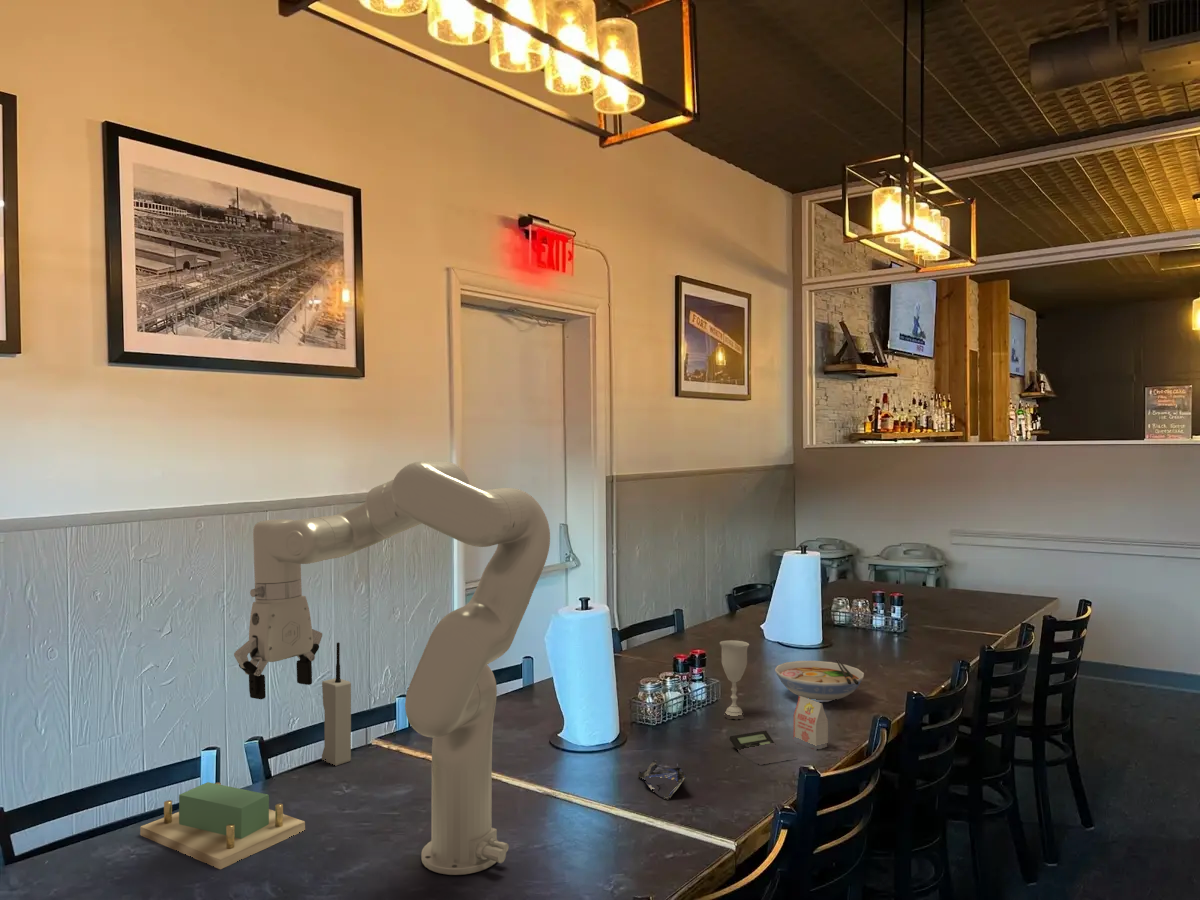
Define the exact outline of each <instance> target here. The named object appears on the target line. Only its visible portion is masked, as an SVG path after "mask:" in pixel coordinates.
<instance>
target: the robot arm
mask: <svg viewBox="0 0 1200 900" xmlns="http://www.w3.org/2000/svg"><path fill="white" fill-rule="evenodd" d="M546 515H547V514H545V511H544V509H543V508H542V506H541V504H539V502H538V501H537V500H536V499H535V498H534V497H533V496H532V495H530V494H529V493H528V492H526V491H524V490H522V489H517V488H514V487H501V488H500V487H499V488H494V489H493V488H492V489H491V488H490V489H480V488H478V487H475V486H473V485H471V484H470V481H469V477H468V475H467V473H466V472H465V471H464V470H463V468H461V467H460V466H459V465H457V464H456V463H453V462H451V461H445V460H431V461H429V460H427V461H415V462H413V463H409V464H407V465H405V466H404V467H402V469H400V470H399V471H398V472H397V473H396V475H395V477H394V478H393V479H391V480H389V481H387V482H384V483H382V484H379V485H377V486H374V487H372V488H371V489H369V491H368V492H367V493H366V497H365V502H363V503H361V504H360V505H357V506H354V507H352V508H350V509H347V510H345V511H342V512H339V513H338V514H334V515H333V514H332V515H324V516H323V515H322V516H317V517H311V518H302V519H297V520H295V519H290V518H282V519H277V518H276V519H267V520H261V521H258V522H257V523H256V524H255V525H254V527H253V530H252V531H253V532H252V533H253V536H252V539H253V540H252V541H253V564H254V567H253V569H254V588H253V589H250V592H249V593H250V596H251V598H255V599H254V600H255V601H254V602H252V605H251V610H250V611H251V612H250V617H249V626H248V627H249V628H248V629H249V630H248V631H249V632H248V641H246V642H245V643H244V644H243V645H241V646H240V647H239V648H238V649H237V650H235V651H234V653H233V656H234V658H235V660H236V662H237V664H238V667H239V668H240V669H241V670H242V671H243V672H244V673H245V675H248V691H249V697H250V698H251V699H257V700H265V699H266V675H265V674H263V671H264V670H265V668H266V667H267V664H268V663H274V662H280V661H283V660H286V659H290V658H295V657H297V658H298V660H296V682H297V684H300V685H304V686H305V685H306V686H310V685H312V684H313V668H312V667H313V666H312V662H313V661H314V660H315V659H316V653H317V652H318V650H319V648H320V643H321V641H322V637H323V633H322V632H321V631H318V630H315V629H313V627H312V619H311V612H310V611H311V610H310V607H309V604H308V600H307V596H306V595H303V593H302V567H301V566H302V565H308V564H313V563H314V564H315V563H318V562H319V563H320V562H322V561H328V560H333V559H338V558H341V557H346V556H348V555H350V554H354V553H356V552H358V551H361V550H364V549H366V548H369V547H371V546H374V545H376V544H379V543H380V542H383V541H384V540H386V539H389V538H390V539H391V538H392V537H393V536H395V535H397V534H399V533H403V532H405V531H407V530H409V529H411V528H415V527H417V526H419V525H425V526H426V527H428V528H431V529H433V530H435V531H437V532H439V533H441V534H443V535H446V536H447V537H450V538H452V539H454V540H457V541H459V542H461V543H463V544H466V545H467V546H472V547H478V548H487V547H492V546H495V545H497V547H496V550H495V551H494V553H493V555H492V557H491V558H490V559H489V562H488V563H487V564H486V565H485V567H484V570H483V572H482V575H481V577H480V579H479V582H478V584H477V587H476V588H475V590H474V593H473V595H472V597H471V598H470V599H469V602H468V603H466V604H465V605H464V606H461V607H459V608H456V609H455V610H452V611H450V612H448V613H447V614H446V615H445V616H444V617H442V618H441V620H440V621H439V622H438V623H437V624H436V626H435V627H434V629H433V630H432V632H431V634H430V636H429V638H428V641H427V643H426V645H425V648H424V650H423V652H422V655H421V657H420V660H419V661H418V664H417V666H416V669H415V671H414V674H413V676H412V678H411V680H410V683H409V686H408V688H407V692H406V695H405V700H404V701H405V703H404V704H405V705H404V707H405V708H404V711H405V715H406V718H407V721H408V723H409V725H410V727H411V728H412V729H413V730H414V731H416V732H417V733H418V734H419V735H421V736H424V737H427V738H432V742H431V743H432V745H431V829H430V830H431V839H430V841H429V842H427V844H425V845H424V846H423V848H422V849H421V863H422V865H423V866H424V867H425V868H427V869H428V870H429V871H431V872H434V873H438V874H441V875H442V874H443V875H449V876H462V875H470V874H471V875H472V874H475V873H479V872H481V871H484V870H487V869H488V868H490V867H492V866H493V865H495V864H496V863H498V864H502V863H504V861H505V860H506V857H507V852H508V850H509V847H510V846H509V845H510V844H509V843H507V842H504V841H499V840H498V838H497V833H498V831H497V828H495V827H492V806H493V805H492V797H493V796H492V791H493V790H492V785H493V784H492V782H493V781H492V776H493V775H492V770H493V769H492V764H493V763H492V759H493V728H494V717H495V712H496V706H497V705H496V703H497V693H498V692H497V691H498V689H497V680H496V678H495V674H494V672H493V670H492V669H491V668H490V666H489V664H491V663H492V662H495V660H498V659H499V658H501V657H502V656H503V655H504V654H506V653H507V652H508V651H509V649H510V648H511V646H512V644H513V641H514V639H515V636H516V634H517V632H518V629H519V627H520V624H521V623H522V620H523V618H524V616H525V613H526V611H527V608H528V606H529V604H530V601H531V598H532V596H533V593H534V590H535V589H536V586H537V584H538V581H539V580H540V577H541V576H542V575H541V574H542V573H543V570H544V567H545V565H546V563H547V560H548V556H549V552H550V545H551V531H550V530H551V529H550V525H549V521H548V518H547V516H546ZM248 655H249V656H250V660H249V657H248Z"/></svg>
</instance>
